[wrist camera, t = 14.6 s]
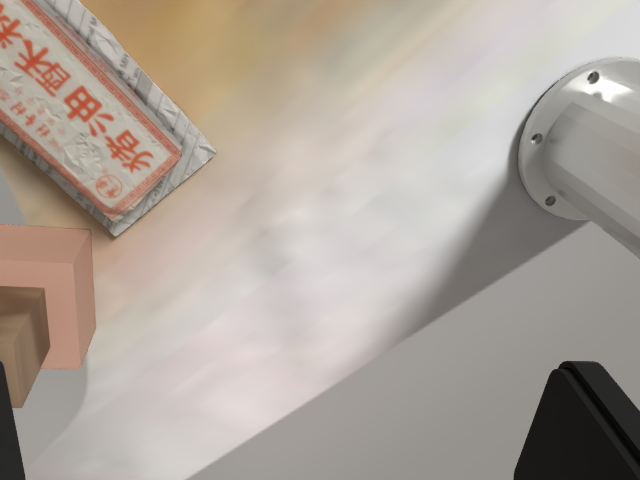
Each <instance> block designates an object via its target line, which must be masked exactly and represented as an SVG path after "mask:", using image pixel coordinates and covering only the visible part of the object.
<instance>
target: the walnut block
mask: <svg viewBox="0 0 640 480" xmlns="http://www.w3.org/2000/svg"><path fill="white" fill-rule="evenodd" d="M49 349H50V338H49V328H48V318H47V308H46V299H45V289H44V288H38V287H14V286H0V361H1V362H2V363H3V365H4V368H5V374H6V379H7V384H8V389H9V395H10V400H11V405H12V408H22V407H23V405H24V403H25V400H26V398H27V396H28V394H29V392H30V390H31V388H32V385H33V383H34V381H35V379H36V377H37V375H38V372H39V370H40V368H41V366H42V364H43V362H44V360H45V358H46V356H47V353H48V351H49Z"/></svg>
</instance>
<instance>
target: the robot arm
mask: <svg viewBox="0 0 640 480" xmlns="http://www.w3.org/2000/svg"><path fill="white" fill-rule="evenodd" d="M588 76H589V77H588ZM533 135H534V137H533ZM532 137H533V138H532ZM518 167H519V172H520V176H521V180H522V183H523V185H524V187H525V189H526V191H527V193H528V194H529V195H530V196H531V197H532V198H533V200H534V201H535V202H536V203H537V204H538V205H540V206H541V207H542V208H543V209H544V210H546V211H548V212H550V213H551V214H553V215H555V216H558V217H561V218H565V219H568V220H580V221H583V220H591V221H593V222H594V223H595V224H596V225H598V226H599V227H600V228H601V229H603V230H604V231H605V232H606V233H608V234H609V235H610V236H612V237H613V238H614V239H615V240H617V241H618V242H619V243H620V244H622V245H623V246H624V247H625V248H627V249H628V250H629V251H630V252H632V253H633V254H634V255H635V256H637V257H638V258H639V259H640V60H636V59H630V58H622V57H619V58H607V59H602V60H598V61H595V62H591V63H588V64H586V65H584V66H582V67H580V68H578V69H576V70H574V71H572V72H571V73H569V74H568V75H566V76H565V77H563V78H562V79H561V80H559V81H558V82H557V83H556V84H555V85H554V86H553V87H552V88H551V89H550V90H548V91H547V92H546V93H545V95H544V96H543V97H542V98H541V100H540V101H539V102H538V104H537V105H536V106H535V108H534V109H533V111H532V113H531V115H530V117H529V118H528V120H527V122H526V125H525V127H524V130H523V133H522V136H521V139H520V145H519V151H518ZM0 480H25V473H24V468H23V463H22V457H21V452H20V447H19V442H18V437H17V431H16V426H15V421H14V416H13V410H12V405H11V400H10V395H9V389H8V384H7V379H6V374H5V368H4V365H3V363H2V362H1V361H0ZM514 480H640V411H639V410H638V409H637V408H636V406H635V405H634V404H633V403H632V401H631V400H630V399H629V398H628V397H627V395H626V394H625V393H624V392H623V390H622V389H621V388H620V387H619V386H618V385H617V383H616V382H615V381H614V380H613V378H612V377H611V376H610V375H609V373H608V372H607V371H606V370H605V369H604V367H603V366H601V365H600V364H599V363H597V362H593V361H592V362H589V361H565V362H563V363H562V364H560V366H559V367H558V369H555V370H553V371H552V372H551V374H550V376H549V378H548V381H547V384H546V386H545V389H544V392H543V395H542V397H541V400H540V403H539V405H538V408H537V411H536V414H535V416H534V419H533V422H532V425H531V427H530V430H529V433H528V436H527V438H526V441H525V444H524V447H523V449H522V452H521V455H520V457H519V460H518V463H517V466H516V468H515V471H514Z"/></svg>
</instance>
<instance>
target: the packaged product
mask: <svg viewBox="0 0 640 480" xmlns="http://www.w3.org/2000/svg"><path fill="white" fill-rule="evenodd" d="M0 134H1V135H2V136H3V137H4V138H5V139H7V140H8V141H9V142H11V143H12V144H13V145H14V146H15V147H16V148H17V149H18V150H19V151H20V152H21V153H22V154H23V155H25V156H26V157H27V158H28V159H29V160H30V161H32V162H33V163H34V164H35V165H36V166H37V167H38V168H40V169H41V170H42V171H43V172H44V173H45V174H46V175H47V176H49V177H50V178H51V179H53V180H54V181H55V182H56V183H57V184H58V185H59V186H60V187H61V188H62V189H63V190H64V191H65V192H66V193H67V194H68V195H69V196H70V197H71V198H73V199H74V200H75V201H76V202H77V203H78V204H80V205H81V206H82V207H83V208H84V209H85V210H86V211H87V212H88V213H90V214H91V215H92V216H93V217H94V218H95V219H96V220H97V221H99V222H100V223H101V224H102V225H103V226H104V227H106V228H107V229H108V230H109V231H110V232H111V233H112V234H113V235H114V236H116V237H117V236H118V235H119V234H120V233H121V232H123V231H124V230H125V229H127V228H128V227H129V226H130V225H132V224H133V223H134V222H135V221H136V220H137V219H138V218H140V217H141V216H142V215H144V214H145V213H146V212H147V211H148V210H150V209H151V208H152V207H153V206H154V205H156V204H157V203H158V202H159V201H160V200H162V199H163V198H164V197H165V196H167V195H168V194H169V193H170V192H171V191H172V190H174V189H175V188H176V187H177V186H178V185H179V184H181V183H182V182H183V181H184V180H186V179H187V178H188V177H189V176H191V175H192V174H193V173H194V172H195V171H197V170H198V169H199V168H200V167H201V166H203V165H204V164H205V163H206V162H207V161H208V160H209V159H211V158H212V157H213V156H214V155H216V154H217V151H216V149H215V148H214V147H213V146H212V145H211V144H210V143H209V141H208V140H207V139H206V138H205V137H204V136H203V134H202V133H201V132H200V131H199V130H198V129H197V127H196V126H195V125H194V124H193V123H192V122H191V121H190V120H189V118H188V117H187V116H186V115H185V114H184V113H183V112H182V111H181V109H180V108H179V107H178V106H176V105H175V104H174V103H173V102H172V101H171V100H170V99H169V98H168V97H167V96H166V95H165V94H164V93H163V92H162V91H161V90H160V89H159V87H158V86H157V85H156V84H155V83H154V82H153V81H152V80H151V78H150V77H149V76H148V75H147V74H146V73H145V72H144V71H143V70H142V68H141V67H140V66H139V65H138V64H137V63H136V62H135V61H134V60H133V58H132V57H131V56H130V55H129V54H128V53H127V52H126V51H125V50H124V48H123V47H122V46H121V45H120V43H119V42H118V41H117V40H116V39H115V37H114V36H113V35H112V34H111V33H110V31H109V30H108V29H107V28H106V27H105V26H103V25H102V24H101V22H100V21H99V20H98V19H97V18H96V17H95V16H94V15H93V14H92V13H91V12H90V11H89V10H88V9H86V8H85V7H84V6H83V5H82V4H81V3H80V1H79V0H0Z"/></svg>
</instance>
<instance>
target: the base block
mask: <svg viewBox="0 0 640 480" xmlns="http://www.w3.org/2000/svg"><path fill="white" fill-rule="evenodd" d="M0 286H14V287H38V288H44V289H45V299H46V308H47V318H48V328H49V338H50V349H49V351H48V353H47V356H46V358H45V360H44V362H43V364H42V366H41V368H42V369H81V367H82V364H83V362H84V359H85V356H86V354H87V351H88V348H89V345H90V343H91V340H92V337H93V335H94V332H95V329H96V323H95V304H94V285H93V266H92V247H91V230H84V229H68V228H52V227H36V226H20V225H4V224H0ZM41 368H40V369H41Z"/></svg>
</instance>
